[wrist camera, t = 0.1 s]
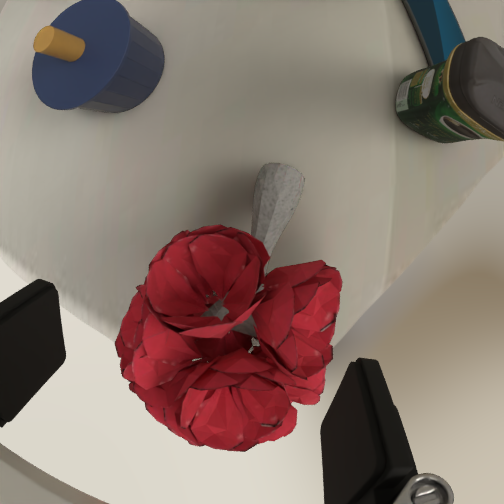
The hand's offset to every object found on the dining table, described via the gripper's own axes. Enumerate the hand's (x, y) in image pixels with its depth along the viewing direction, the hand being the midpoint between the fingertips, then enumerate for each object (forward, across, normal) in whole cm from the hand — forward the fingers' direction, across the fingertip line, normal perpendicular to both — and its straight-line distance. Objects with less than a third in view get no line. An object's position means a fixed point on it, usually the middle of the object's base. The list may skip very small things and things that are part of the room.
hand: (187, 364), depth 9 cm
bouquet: (+31, -1, +10) cm, 33 cm away
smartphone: (+31, -18, -30) cm, 47 cm away
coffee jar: (+31, -18, -17) cm, 40 cm away
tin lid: (+21, +22, -15) cm, 34 cm away
